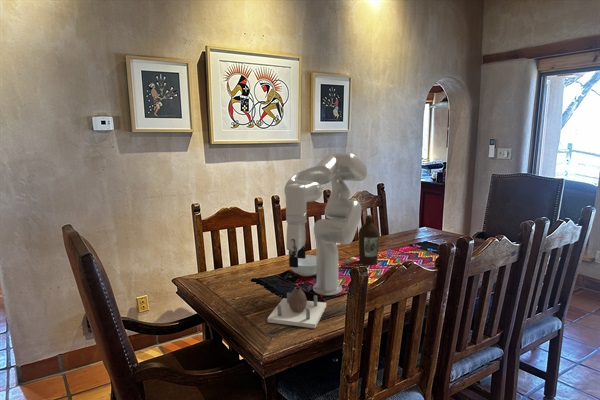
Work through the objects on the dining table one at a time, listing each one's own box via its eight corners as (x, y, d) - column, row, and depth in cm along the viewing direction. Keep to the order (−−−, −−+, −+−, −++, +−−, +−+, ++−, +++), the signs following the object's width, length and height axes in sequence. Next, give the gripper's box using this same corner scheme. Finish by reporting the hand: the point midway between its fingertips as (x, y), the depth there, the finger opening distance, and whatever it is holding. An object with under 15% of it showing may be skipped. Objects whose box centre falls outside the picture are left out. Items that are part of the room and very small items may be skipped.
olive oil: (355, 259, 212) (356, 213, 207) (374, 258, 213) (375, 212, 209) (361, 265, 201) (362, 218, 197) (381, 264, 203) (382, 217, 198)
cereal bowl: (321, 281, 182) (321, 266, 181) (286, 279, 186) (285, 264, 184) (326, 268, 199) (326, 255, 197) (293, 266, 202) (293, 253, 201)
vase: (306, 305, 154) (305, 284, 152) (307, 313, 147) (307, 291, 145) (288, 306, 153) (287, 285, 152) (289, 314, 146) (288, 292, 145)
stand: (283, 301, 161) (282, 288, 160) (326, 306, 156) (326, 293, 155) (267, 322, 144) (267, 308, 143) (315, 328, 139) (315, 313, 138)
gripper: (293, 212, 153) (294, 254, 156) (278, 223, 136) (280, 269, 140) (312, 213, 151) (313, 255, 154) (299, 224, 134) (300, 271, 138)
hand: (297, 262), depth 147 cm, fingers open, 9 cm apart
